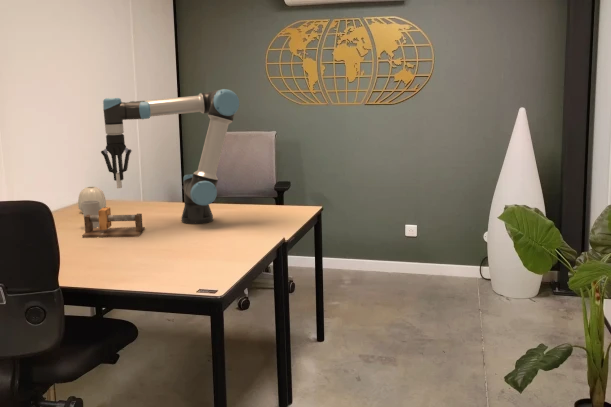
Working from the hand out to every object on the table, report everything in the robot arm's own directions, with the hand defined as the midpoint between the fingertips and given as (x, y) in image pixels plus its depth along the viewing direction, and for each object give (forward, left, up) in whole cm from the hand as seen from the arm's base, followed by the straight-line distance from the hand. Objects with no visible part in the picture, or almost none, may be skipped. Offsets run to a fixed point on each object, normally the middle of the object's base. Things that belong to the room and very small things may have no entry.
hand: (119, 187), depth 267 cm
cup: (+18, -15, -21) cm, 31 cm away
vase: (+28, -52, -21) cm, 62 cm away
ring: (+7, 0, -18) cm, 19 cm away
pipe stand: (+4, 0, -21) cm, 21 cm away
